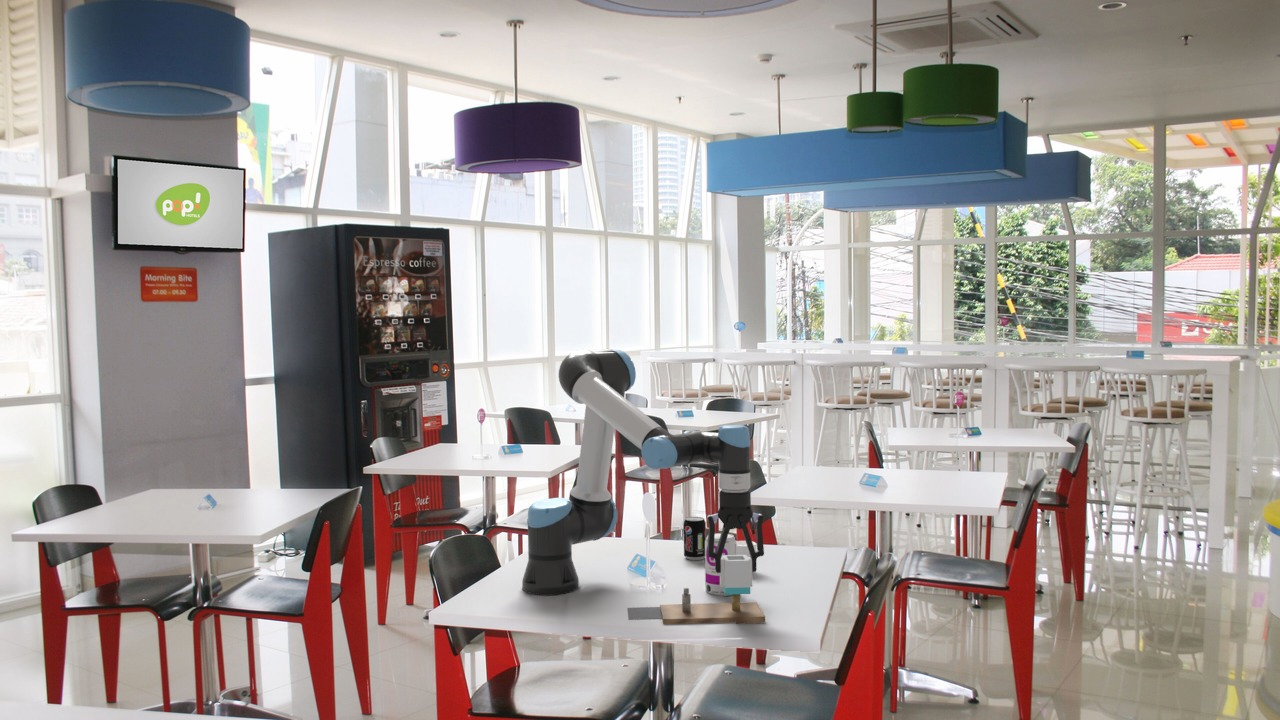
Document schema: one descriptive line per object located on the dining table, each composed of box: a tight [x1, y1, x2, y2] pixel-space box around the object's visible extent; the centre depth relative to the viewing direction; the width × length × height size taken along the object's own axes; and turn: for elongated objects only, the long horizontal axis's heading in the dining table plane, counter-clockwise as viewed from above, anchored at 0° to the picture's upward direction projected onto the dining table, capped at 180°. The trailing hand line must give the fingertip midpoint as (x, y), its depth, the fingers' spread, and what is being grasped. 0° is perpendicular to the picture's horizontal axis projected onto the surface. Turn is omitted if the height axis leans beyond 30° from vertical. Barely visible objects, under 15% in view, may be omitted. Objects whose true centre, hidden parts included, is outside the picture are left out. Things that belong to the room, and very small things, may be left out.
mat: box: [626, 606, 662, 621], centre depth 238 cm, size 10×10×1 cm
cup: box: [736, 540, 757, 557], centre depth 280 cm, size 7×10×8 cm
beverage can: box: [683, 516, 707, 561], centre depth 296 cm, size 7×7×12 cm
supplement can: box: [704, 532, 737, 597], centre depth 257 cm, size 8×8×15 cm
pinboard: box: [659, 587, 766, 625], centre depth 236 cm, size 24×12×7 cm, turn 92°
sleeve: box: [722, 555, 751, 596], centre depth 236 cm, size 6×6×8 cm
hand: (735, 585), depth 236 cm, fingers closed on sleeve, 6 cm apart
